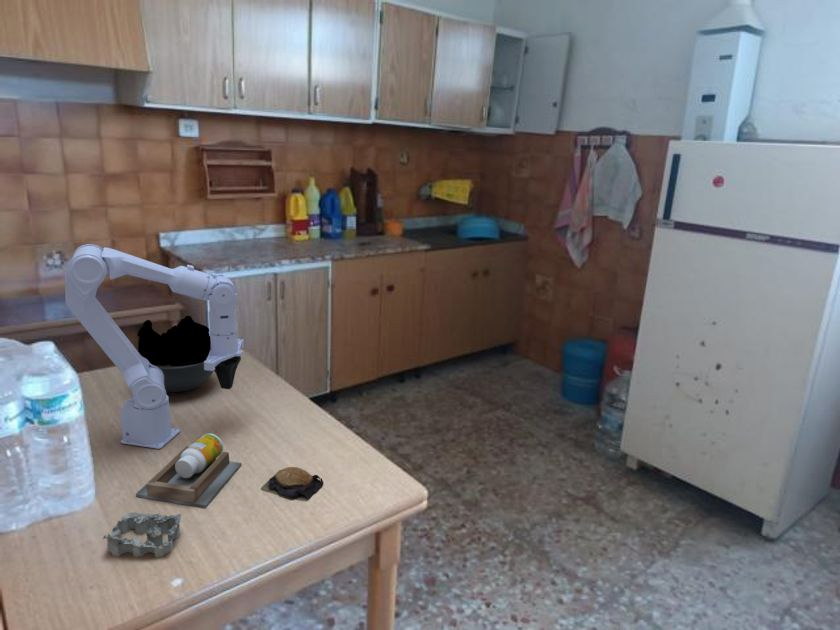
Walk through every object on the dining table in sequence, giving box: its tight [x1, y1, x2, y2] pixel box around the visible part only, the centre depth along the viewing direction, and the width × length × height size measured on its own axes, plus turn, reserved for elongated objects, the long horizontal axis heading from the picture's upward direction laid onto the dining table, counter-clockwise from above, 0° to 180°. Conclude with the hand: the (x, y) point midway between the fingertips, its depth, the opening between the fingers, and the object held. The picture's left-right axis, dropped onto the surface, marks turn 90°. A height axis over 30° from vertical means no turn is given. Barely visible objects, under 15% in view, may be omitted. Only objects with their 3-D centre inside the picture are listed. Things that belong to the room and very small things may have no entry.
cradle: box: [135, 446, 242, 509], centre depth 114 cm, size 14×14×3 cm
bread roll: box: [260, 466, 324, 502], centre depth 114 cm, size 11×8×4 cm
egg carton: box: [102, 511, 182, 558], centre depth 97 cm, size 11×8×4 cm
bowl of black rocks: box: [137, 315, 215, 393], centre depth 149 cm, size 20×20×19 cm
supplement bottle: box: [175, 433, 224, 478], centre depth 117 cm, size 5×5×10 cm
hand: (226, 387), depth 132 cm, fingers closed
